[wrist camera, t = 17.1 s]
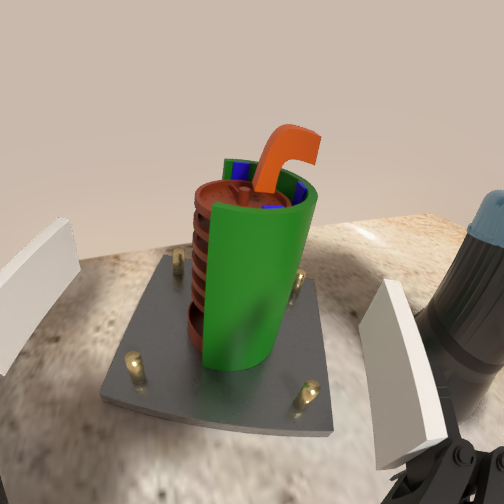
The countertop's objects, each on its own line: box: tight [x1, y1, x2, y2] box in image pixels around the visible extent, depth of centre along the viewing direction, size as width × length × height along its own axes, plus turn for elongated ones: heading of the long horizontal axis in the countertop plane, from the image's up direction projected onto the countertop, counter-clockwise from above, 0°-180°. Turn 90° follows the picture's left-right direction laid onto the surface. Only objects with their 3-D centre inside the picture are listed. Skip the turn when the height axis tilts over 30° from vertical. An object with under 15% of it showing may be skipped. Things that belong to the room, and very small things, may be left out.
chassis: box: [100, 248, 334, 437], centre depth 29 cm, size 20×21×4 cm
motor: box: [188, 124, 321, 371], centre depth 24 cm, size 10×9×20 cm
